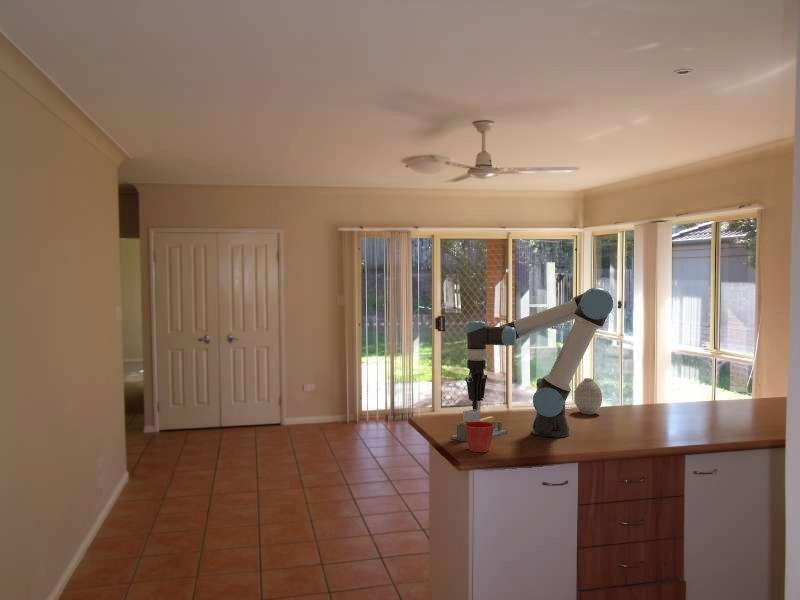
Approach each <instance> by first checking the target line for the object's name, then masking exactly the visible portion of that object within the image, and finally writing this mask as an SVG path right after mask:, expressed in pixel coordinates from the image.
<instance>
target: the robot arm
mask: <svg viewBox="0 0 800 600" xmlns="http://www.w3.org/2000/svg"><path fill="white" fill-rule="evenodd" d="M613 307H614V299H613V296H612V294H611V293H610V292H609V291H608V290H607V289H605V288H602V287H591V288H589V289H587V290H586V291H585V292H582V293H581V294H579V295H577V296H574V297H572V299H571V300H570V301H567V302H563V303H561V304H558V305H555V306H553V307H549V308H547V309H544V310H541V311H539V312H535V313H533V314H530V315H528V316H525V317H522V318H518V319H516V320H514V321H511V322H507V323H504V324H501V325H500V326H487V323H486V322H485V321H481V320H475V321H474V320H473V321H469V322H468V323H467V332H466V335H467V338H466V339H467V340H466V341H467V343H466V344H467V348H466V349H467V352H466V353H467V360H466V361H467V362H466V363H467V365H466V367H467V369H468V370H469V372H468V377H465V378H464V380H465V382H466V389H467V395H468V400H469V401H471V404H472V405H471V406H472V410H478V411H480V412H481V401H482V402H483V399H484V398H485V390H486V384H487V379H488V374H485V371H484V370H485V369H486V368H487V366H486V364H487V361H486V358H487V347H486V346H505V347H507V346H510V347H511V346H515V345H516V342H517V340H518V339H521V338H525V337H527V336H529V335H532V334H535V333H538V332H541V331H544V330H547V329H550V328H554V327H556V326H559V325H562V324H565V323H567V322H568V323H569V322H571V321H574V323H573V325H572V326H571V329H570V330H569V332H568V335H567V336H566V339H565V341H564V343H563V345H562V347H561V349H560V351H559V353H558V355H557V356H556V359H555V361H554V363H553V365H552V367H551V370H550V372H549V373H548V374H546V375H543V376H542V377H541V378H540V377H539V378H537V380H536V384H535V385H536V391H534V394H533V397H532V405H533V408H534V409H535V411H536V413H535V417H534V420H533V424H532V428H531V433H532V434H533V435H534V436H539V437H545V438H564V437H565V438H566V437H568V436H569V435H570V427H569V426H570V425H569V424H568V421H567V418H566V401H567V398H568V396H569V394H570V392H571V391H572V389H571V386H570V383H571V381H572V380H573V378H574V375H575V374H576V371H577V370H578V367H579V365H580V364H581V362H582V360H583V358H584V356H585V354H586V351H587V350H588V347H589V346H590V344H591V341H592V340H593V338H594V336H595V333H596V331H597V330H598V329H601V328H602V329H603V326H604V325H605V322H606V320H607V318H608V316H609V315H610V314H611V313H612V311H613V309H614V308H613Z"/></svg>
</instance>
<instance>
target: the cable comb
mask: <svg viewBox="0 0 800 600" xmlns="http://www.w3.org/2000/svg"><path fill="white" fill-rule="evenodd" d="M480 422H489V423H492V424H494V429H493V435H492V439H494V438H496V437H500V436H502V435H506V434H507V433H508V430H506V429H502V426H503V425H502V421H500V420H498V421H497V428H496V421H495V417H494V416H490V415H489V416H486V417H483V418H480ZM465 424H466V423H464V422H463V421H460V422H459V424H456V434H454V435H451V436H450V439H452V440H456V441H461V442H466V443H468V442H467V436H466V431H465ZM505 433H506V434H505Z"/></svg>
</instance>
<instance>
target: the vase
mask: <svg viewBox="0 0 800 600" xmlns="http://www.w3.org/2000/svg"><path fill="white" fill-rule="evenodd" d="M573 396H574V397H573V398H574V404H575V406H576V408H577V410H578V411H579V412H580V413H581V414H583V415H591V416H592V415H595V414H597V412H598V411H599V409H600V408H601V406H602V403H603V394H602V391H601V389H600V387H599V385H598V384H597V383H596V382H595V381H594V380H593V378H592V377H587V378H583V380H582V381H581V382H580V383H579V384H578V385H577V386H576V389H575V390H574V395H573Z"/></svg>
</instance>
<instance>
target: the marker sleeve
mask: <svg viewBox="0 0 800 600" xmlns="http://www.w3.org/2000/svg"><path fill="white" fill-rule="evenodd" d="M480 419H481V410H480V411H478V410H473V409H470V408H469V409H466V410H463V411H462V422H464V423H468V422H476V421H480Z"/></svg>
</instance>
